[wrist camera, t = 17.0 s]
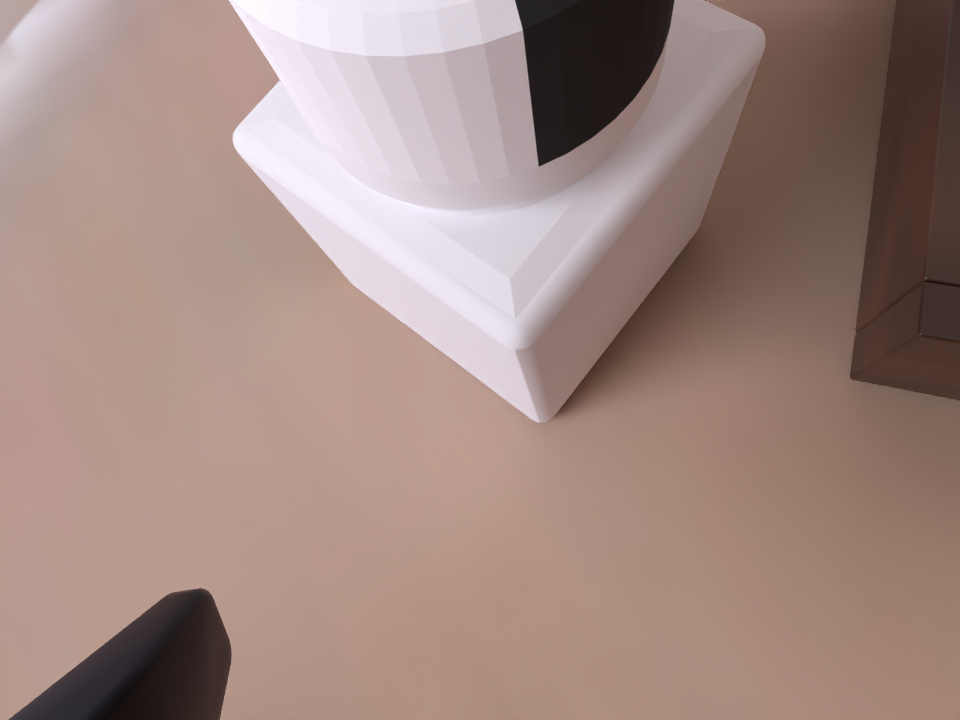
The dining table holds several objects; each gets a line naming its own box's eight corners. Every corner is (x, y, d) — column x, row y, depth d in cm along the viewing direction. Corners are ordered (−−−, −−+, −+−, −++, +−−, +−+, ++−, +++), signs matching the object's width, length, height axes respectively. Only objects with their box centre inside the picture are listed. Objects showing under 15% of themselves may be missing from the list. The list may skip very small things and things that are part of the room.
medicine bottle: (500, 105, 20) (387, -503, 8) (704, 225, 18) (927, -365, 6) (349, 283, 19) (-13, -125, 7) (545, 431, 17) (464, 182, 5)
